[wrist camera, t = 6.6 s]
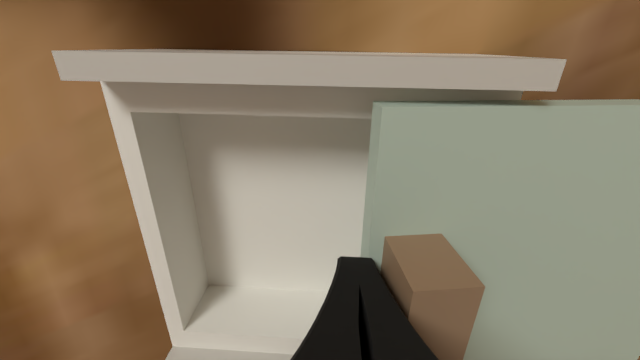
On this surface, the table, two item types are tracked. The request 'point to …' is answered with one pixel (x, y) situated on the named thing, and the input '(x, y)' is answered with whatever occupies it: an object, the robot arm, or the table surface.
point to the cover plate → (509, 225)
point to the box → (263, 172)
